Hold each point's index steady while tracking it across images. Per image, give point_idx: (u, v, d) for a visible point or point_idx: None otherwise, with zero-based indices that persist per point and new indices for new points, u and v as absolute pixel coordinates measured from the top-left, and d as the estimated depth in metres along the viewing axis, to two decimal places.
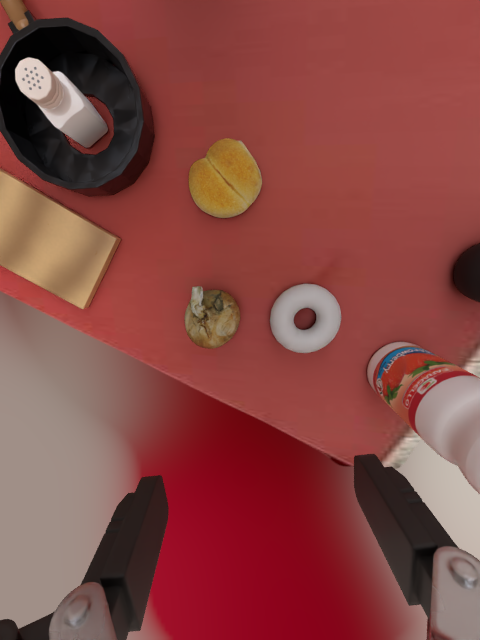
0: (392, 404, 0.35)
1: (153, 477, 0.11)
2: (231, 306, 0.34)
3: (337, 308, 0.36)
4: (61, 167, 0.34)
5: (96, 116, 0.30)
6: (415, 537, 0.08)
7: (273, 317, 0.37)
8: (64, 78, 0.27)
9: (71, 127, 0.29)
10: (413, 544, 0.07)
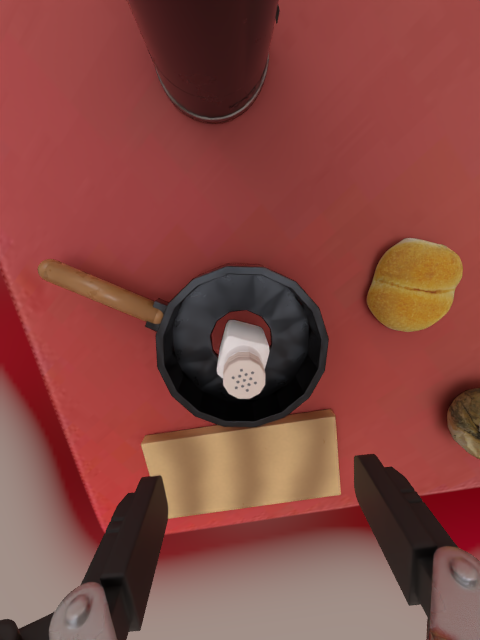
0: None
1: (153, 477, 0.11)
2: None
3: None
4: None
5: (264, 336, 0.26)
6: (415, 537, 0.08)
7: None
8: (239, 339, 0.23)
9: None
10: (413, 544, 0.07)
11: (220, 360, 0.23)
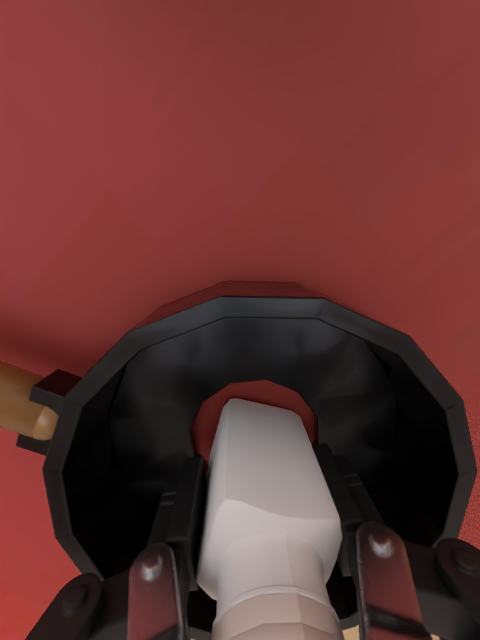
0: None
1: (196, 457, 0.11)
2: None
3: None
4: None
5: (313, 455, 0.11)
6: (346, 514, 0.08)
7: None
8: (259, 514, 0.08)
9: None
10: (343, 520, 0.08)
11: (204, 564, 0.08)
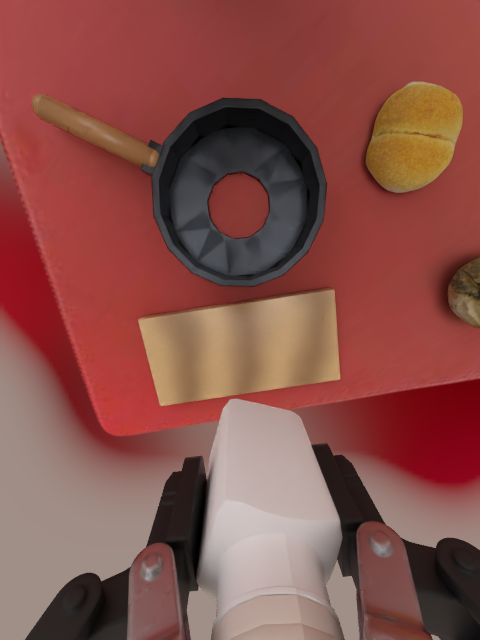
0: None
1: (196, 457, 0.11)
2: None
3: None
4: (240, 265, 0.30)
5: (313, 456, 0.11)
6: (346, 514, 0.08)
7: None
8: (260, 515, 0.08)
9: None
10: (343, 519, 0.08)
11: (205, 565, 0.08)
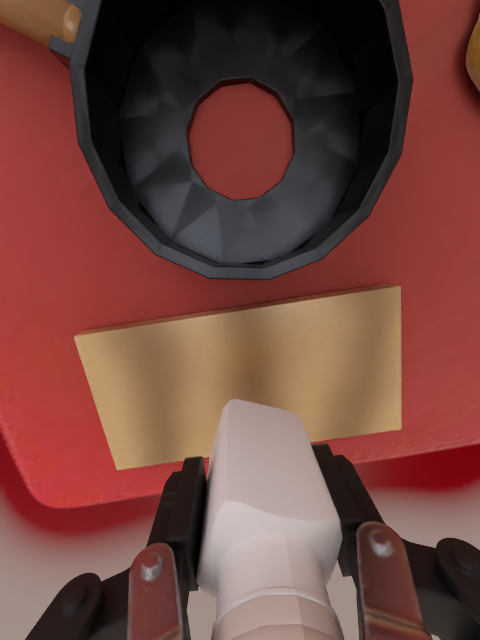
0: None
1: (196, 457, 0.11)
2: None
3: None
4: (242, 246, 0.18)
5: (313, 456, 0.11)
6: (346, 514, 0.08)
7: None
8: (260, 515, 0.08)
9: None
10: (343, 520, 0.08)
11: (205, 565, 0.08)
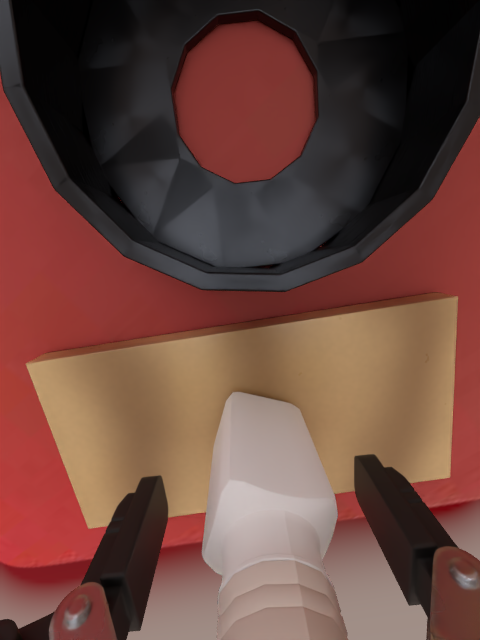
0: None
1: (153, 477, 0.11)
2: None
3: None
4: (248, 244, 0.14)
5: (311, 444, 0.11)
6: (415, 537, 0.08)
7: None
8: (261, 493, 0.08)
9: None
10: (413, 544, 0.07)
11: (210, 540, 0.09)
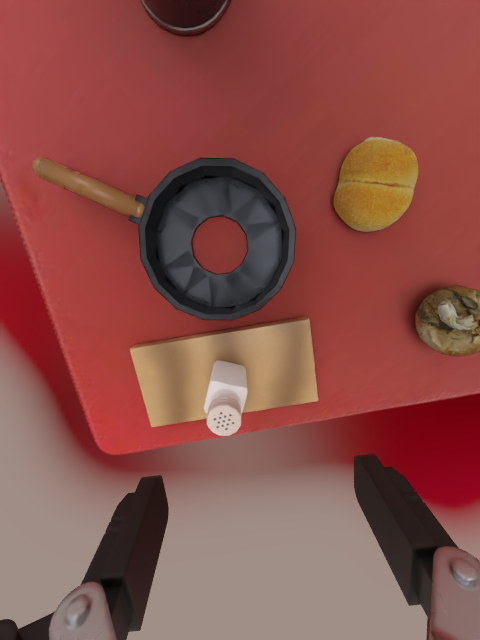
0: None
1: (153, 477, 0.11)
2: (478, 294, 0.28)
3: None
4: (222, 298, 0.32)
5: (245, 376, 0.30)
6: (415, 537, 0.08)
7: None
8: (221, 384, 0.27)
9: None
10: (413, 544, 0.07)
11: (206, 400, 0.28)
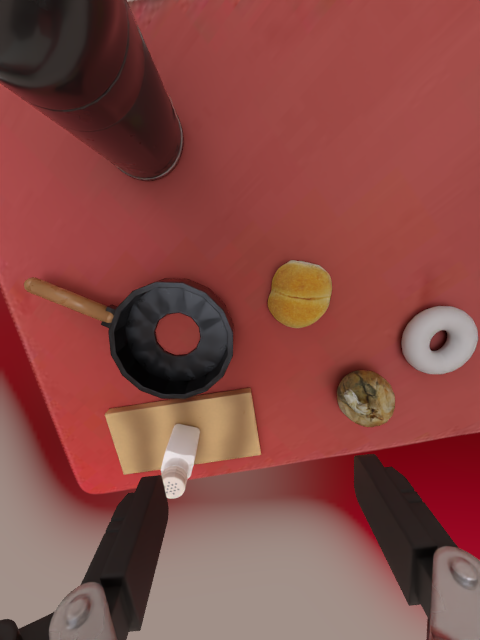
0: None
1: (153, 477, 0.11)
2: (378, 382, 0.36)
3: (465, 316, 0.36)
4: (180, 374, 0.40)
5: (196, 442, 0.38)
6: (415, 537, 0.08)
7: (412, 360, 0.38)
8: (173, 453, 0.35)
9: None
10: (413, 544, 0.07)
11: (162, 465, 0.35)
